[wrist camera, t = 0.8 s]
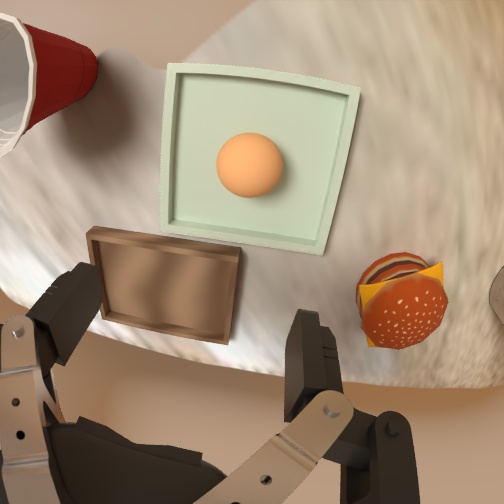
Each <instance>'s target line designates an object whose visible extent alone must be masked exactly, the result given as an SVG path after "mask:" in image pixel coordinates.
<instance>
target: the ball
mask: <svg viewBox="0 0 504 504" xmlns="http://www.w3.org/2000/svg"><path fill="white" fill-rule="evenodd" d="M216 169H217V174H218V177H219V179H220V181H221V183H222V184H223V186H224V187H225V188H226V189H227V190H229V191H230V192H231V193H233V194H235V195H237V196H240V197H245V198H254V197H259V196H262V195H264V194H266V193H268V192H269V191H270V190H272V189H273V188H274V187H275V185H276V184H277V183H278V181H279V179H280V177H281V174H282V169H283V161H282V156H281V153H280V151H279V149H278V148H277V146H276V145H275V144H274V142H272V141H271V140H270V139H269V138H267V137H266V136H263V135H261V134H258V133H251V132H249V133H241V134H238V135H236V136H234V137H232V138H230V139H229V140H228V141H227V142H225V144H224V145H223V146H222V148H221V149H220V151H219V153H218V156H217V161H216Z"/></svg>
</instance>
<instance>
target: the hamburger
mask: <svg viewBox="0 0 504 504" xmlns="http://www.w3.org/2000/svg"><path fill="white" fill-rule="evenodd" d="M356 302H357V305H358V307H359V309H360V316H361V319H362V325H361V328H362V330H363V331H364V332H365V334H366V335H367V342H368V347H384V348H391V349H403V348H406V347H409V346H411V345H414V344H417V343H420V342H422V341H423V340H424V339H425V338H427V337H428V336H429V335H430V334H431V333H432V332H433V331H434V330H435V329H436V328H438V327H439V326H440V324H441V321H442V318H443V316H444V313H445V310H446V307H447V304H448V298H447V296H446V293H445V291H444V289H443V263H442V261H441V262H440V263H438V264H436V265H435V266H433V267H429V266H428V264H427V263H426V262H425V261H424V260H423V259H422V258H421V257H419V256H416V255H413V254H409V253H406V252H404V253H395V254H390V255H388V256H386V257H383V258H381V259H379V260H377V261H375V262H374V263H373V264H372V265H371V266H370V267H369V268H368V269H367V270H366V271H365V272H364V273H363V275H362V277H361V279H360V281H359V283H358V285H357V288H356Z"/></svg>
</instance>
